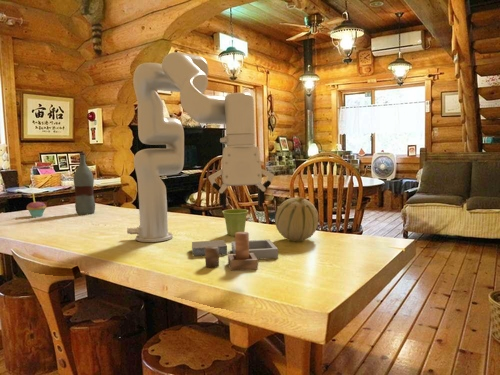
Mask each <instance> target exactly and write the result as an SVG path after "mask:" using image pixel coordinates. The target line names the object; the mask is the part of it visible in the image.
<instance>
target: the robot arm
mask: <svg viewBox="0 0 500 375" xmlns="http://www.w3.org/2000/svg"><path fill="white" fill-rule="evenodd" d="M209 71H210V70H209V65H208V62H207V61H206V59H205V58H204V57H202V56H201V55H198V54H191V53H187V52H185V53H184V52H178V51H174V52H169V53H168V54H166V55H165V56H164V57H163V58H162V62H161V63H158V62H144V63H141V64H139V65H137V67H136V68H135V70H134V73H133V80H132V83H133V88H134V89H133V90H134V93H135V96H136V102H137V130H138V131H137V132H138V135H137V136H138V139H139V141H140V142H141V143H142V144H145V145H150V146H151V145H153V146H154V145H155V146H157V145H158V146H160V145H162V146H163V145H165V146H166V148H144V149H141V150H139V151H137V152H136V153H135V155H134V157H133V165H134V166H133V167H134V170H135V175H136V179H137V191H138V192H137V193H138V208H139V209H138V211H139V226H137V227H136V228H135V227H134V228H133V227H130V228H127V229H126V230H127V231H126V232H127V234H128V235H136V236H135V240H136V241H137V242H141V243H157V242H163V241H164V242H165V241H167V240H172V239H173V233H172V232H169V227H168V226H169V225H168V200H167V187H166V185H165V182H164V181H163V180H162V179H161V177H160V176H172V175H178V174H179V173H181V172H182V171H183V168H184V166H185V130H184V127H183V124H182V122H181V120H179V119H178V118H175V117H166V116H164V103H163V100H162V99H161V97H160V95H159V93H158V92H157V91H163V92H172V93H179V100H180V105H181V107H182V109H183V111H184V112H185V113H186V114H187V115H188V117H190V118H191V119H192V120H193V121H195V122H197V123H199V124H207V125H208V124H209V125H210V124H211V125H212V124H213V125H225V136H224V137H220V139H219V142H220V143H221V144H224V145H225V147H223V150H222V158H221V159H222V160H221V169H220V170H218V171H216V172H214V173H213V174H210V175H209V176H208V181H209V182H210V184H211V186H212V188H214V189H215V190H216V191H217V192H218V194H219V205H220V206H222V208H223V209H225V210H226V208H227V195H226V192H225V191H226V190H227V188H228V187H238V186H243V187H244V186H254V185H255V186H256V187H257V188H258V190H257V206H259V207H260V208H262V207H264V206H263V204H264V203H265V202H266V201H265V197H266V196H265V191H266V190H267V189H268V188H269V186H271V183H272V181H273V180H274V178H275V174H274V173H272V172H270V171H268V170H266V169H263V168H262V162H261V156H260V155H261V153H260V149H259V146H256V143H255V142H256V141H255V138H256V136H255V133H256V132H255V107H254V106H255V103H254V102H255V100H254V97H253V95H252V94H250V93H249V92H233V93H231V92H230V93H228V94H226V96H223V95H214V94H204V93H205V92H206V90H207V88H208V85H209V80H208V79H209V78H208V76H209V73H210V72H209ZM262 175H263V176H266V180H265V181H264V182H262V181H263V179H262V178H263V176H262ZM220 176H221V180H222V184H221V185H219V184H218V183H217V182H216V179H217V178H219V177H220Z"/></svg>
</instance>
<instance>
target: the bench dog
mask: <svg viewBox="0 0 500 375" xmlns="http://www.w3.org/2000/svg"><path fill="white" fill-rule="evenodd" d="M219 256H220V255H219V248H218V247H217V246H208V247H205V256H204V257H205V258H204V260H205V267H206V268H208V269H212V268H213V269H214V268H219V266H220V261H219V260H220V259H219V258H220V257H219Z"/></svg>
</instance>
